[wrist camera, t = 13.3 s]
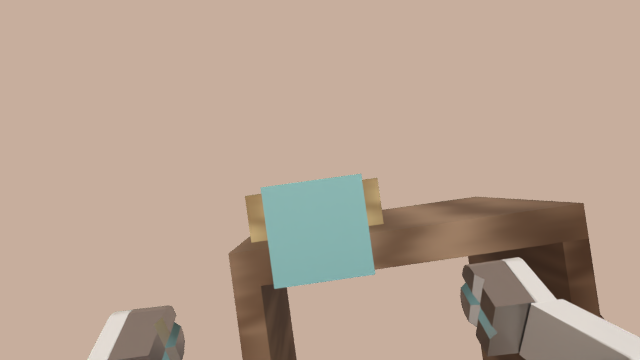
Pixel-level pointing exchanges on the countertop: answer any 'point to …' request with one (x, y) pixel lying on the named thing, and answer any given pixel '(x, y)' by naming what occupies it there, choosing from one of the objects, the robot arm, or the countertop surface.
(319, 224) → the teal block
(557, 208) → the wooden cabinet unit
